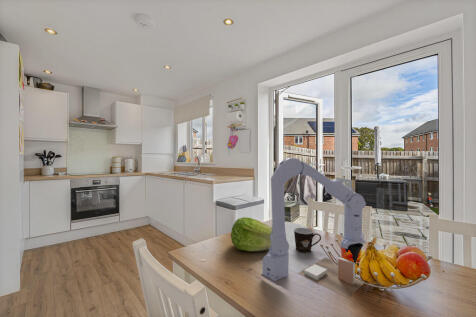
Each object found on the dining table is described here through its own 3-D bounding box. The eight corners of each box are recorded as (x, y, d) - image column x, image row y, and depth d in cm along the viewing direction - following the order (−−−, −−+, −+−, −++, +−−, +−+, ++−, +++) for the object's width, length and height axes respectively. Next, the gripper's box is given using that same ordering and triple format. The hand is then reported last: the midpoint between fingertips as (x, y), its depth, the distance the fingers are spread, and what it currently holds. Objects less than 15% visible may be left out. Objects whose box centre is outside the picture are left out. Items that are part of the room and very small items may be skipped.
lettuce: (278, 262, 91) (283, 228, 93) (224, 248, 99) (230, 216, 100) (281, 252, 108) (285, 223, 109) (235, 240, 115) (239, 213, 116)
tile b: (352, 284, 72) (353, 264, 72) (338, 278, 76) (338, 258, 76) (354, 283, 74) (355, 262, 73) (340, 276, 77) (340, 257, 77)
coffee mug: (291, 253, 98) (292, 232, 98) (295, 246, 106) (296, 226, 106) (319, 259, 93) (319, 236, 93) (321, 251, 101) (321, 230, 100)
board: (348, 301, 66) (348, 297, 66) (297, 276, 80) (297, 273, 80) (372, 278, 78) (372, 275, 78) (325, 260, 92) (325, 257, 92)
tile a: (327, 273, 79) (316, 280, 75) (314, 268, 83) (304, 274, 79) (327, 269, 79) (317, 275, 75) (314, 264, 83) (304, 270, 79)
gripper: (356, 232, 70) (355, 274, 70) (372, 224, 79) (372, 261, 80) (334, 227, 76) (334, 265, 76) (352, 219, 85) (352, 254, 85)
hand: (352, 262), depth 78 cm, fingers closed
